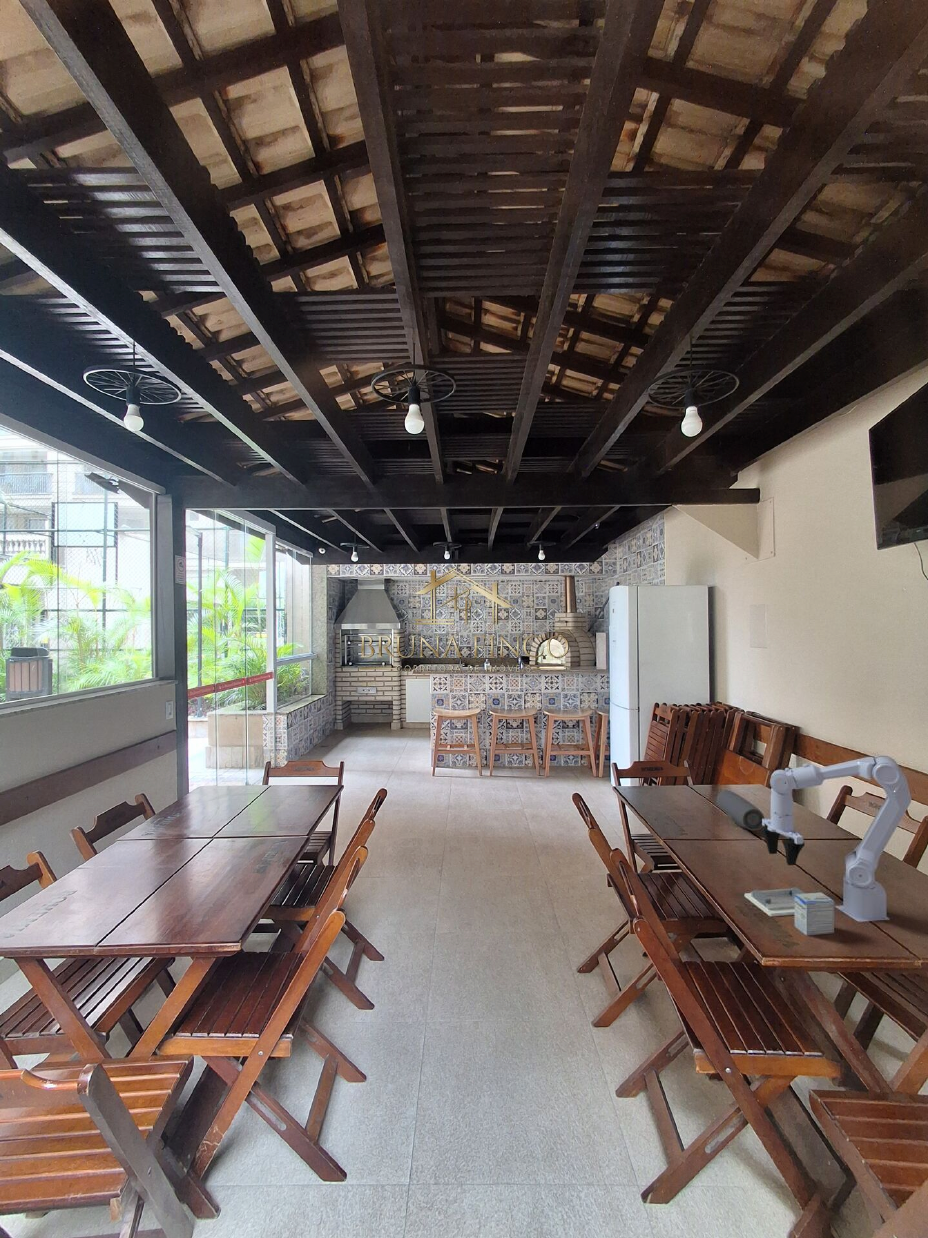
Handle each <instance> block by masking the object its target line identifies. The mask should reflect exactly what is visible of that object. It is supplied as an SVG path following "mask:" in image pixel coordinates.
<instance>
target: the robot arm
mask: <svg viewBox="0 0 928 1238" xmlns="http://www.w3.org/2000/svg"><path fill="white" fill-rule="evenodd" d="M853 776H859V777H861V778H864V779H865V780H868V781H871V780H872V779H871V778H872V777H873V779H874V780H875V781H876V782H877V783H878V784H879V786H880V787H882V789H883V790H884V792H885V794H886V797H885V799H884V800H883V802H882V804H881V805H880V807H879V810H878V811H877V813H876V815H875V816H874V818H873V820H872V822H871V823H870V825H869V827H868V829H867V831H866V833H864V837H862V840H861V842H860V843H858V844H857V846H856V847H855V848H854V849H853V851H850V852H849V853H848V854H846V855H845V858H844V865H845V874H844V875H843V880H842V881H843V882H842V883H843V891H842V893H843V897H842V898H843V901H842V904H843V905H836V906H835V905H834V908H836V909H838V910H840V911H841V912H843V913H844V914H846V915H847V916H849V917H850V918H852V919H854V920H855V921H857V922H859V923H861V922H870V921H871V922H872V921H873V922H874V921H884V920H885V921H886V920H887V921H890V918H889V917H888V916H887V893H886V891H885V888H884V887H883V886H882V884H881V883H880V882H879V881H876V879H875V878H876V877H875V873H876V870H877V868H878V865H879V861H880V857H881V856H882V854H883V853H884V850H885V848H886V846H887V844H888V843H889V841H890V840H891V837H892V836H893V834H894V833H895V831H896V829H897V828H898V826H899V823H900V822H901V820H902V818H903V817H904V816H905V814H906V811H907V810H908V809H909V806H910V805H911V803H912V797H911V793H910V789H909V784H908V780H907V777H906V776H905V774H904V772H903V770H902V768H901V767H900V765H899V764H898V762H897V761H896V760H895V759H893V758H892V757H890V756H888V755H877V756H875V757H873V756H866V757H862V758H858V759H854V760H853V759H852V760H849V761H844V762H840V763H836V764H831V765H827V766H822V767H820V766H817V765H815V764H809V763H804V764H802V766H799V767H795V768H789V767H786V768H785V769H784V770H783V769H776V770H774V771H773V773H772V774H771V776H770V779H769V784H770V787H771V788H770V793H771V794H770V818H765V819H762V825H763V826H762V828H760V829H759V830H760V832H761V834H762V835H763V838H764V840H765V843H766V846H767V851H768V853H769V854H770V855H775V854H776V855H777V854H778V847H779V839H780V837H781V835H782V836H784V837H785V838H787V839H782V840H781V843H782V844H783V847H784V852H785V860H786V864H787V866H795V865H796V863H797V861H798V860H797V859H798V856H799V854H800V852H801V851H802V849H803V848H804V847H805V842H804V836H802V835H801V834H799V832H798V831H796V830H795V829H794V798H793V790H800V789H801V790H802V789H806V788H813V787H817V786H818V787H819V786H822V785H823V783H824V781H825V780H831V779H832V780H833V779H838V778H839V779H840V778H846V777H853Z"/></svg>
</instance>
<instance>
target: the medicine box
mask: <svg viewBox="0 0 928 1238" xmlns="http://www.w3.org/2000/svg"><path fill="white" fill-rule="evenodd" d="M794 927H795V929H797V930H798V931H800V932H801V933H802V934H803V935H805V936H815V935H825V934H834V932H835V901H834V900H833V899H832V898H830V897H829V896H828V895H826V894H824V893H823V892H809V893H808V892H807V893H806V894H796V895H795V915H794Z"/></svg>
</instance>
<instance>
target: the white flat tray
mask: <svg viewBox="0 0 928 1238" xmlns="http://www.w3.org/2000/svg"><path fill="white" fill-rule="evenodd" d="M796 894H807V893H806V892H804V891H803V890H801V889H800V888H798V887H796V886H794V887H791V888H780V889H765V890H759V889H754V890H753V891H752V890H751V891H750V892H748V893H746V892H745V893H744V898H746V899H747V900H749V901H750V902H751V903H752V904H754V905H755V906H756V907H757V908H759V909H760V910H761V911H763V912H764V913H765V914H767V915H768V916H769V917H781V916H782V917H783V916H795V895H796Z"/></svg>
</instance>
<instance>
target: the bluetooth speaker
mask: <svg viewBox="0 0 928 1238" xmlns="http://www.w3.org/2000/svg"><path fill="white" fill-rule="evenodd" d="M717 794H718V795H717V797H716V801H715V802H716V804H717V806H718V807H719V808H720V809H721V811H723V813H725V814H726V815H727V816H728V817H729V818H730V820H731V821H732V822H733V823H734V824H736V825H737V826H738V827H740V828H745V829H747V830H748V831H749V830H750V831H759V830H760V829H761V828H763V827H764V826H763V825H762V819H766V818H765V816H764V814H763V812H762V811H761V810H760V809H759V808H758V807H756V806H755V804H752V803H751V802H750V801H749V800H747V799H746V798H744V797H742V796H741V795H740V794H737V793H736V792H734V791H731V790H728V789H726V790H722V791H720V792H719V793H717Z"/></svg>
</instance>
